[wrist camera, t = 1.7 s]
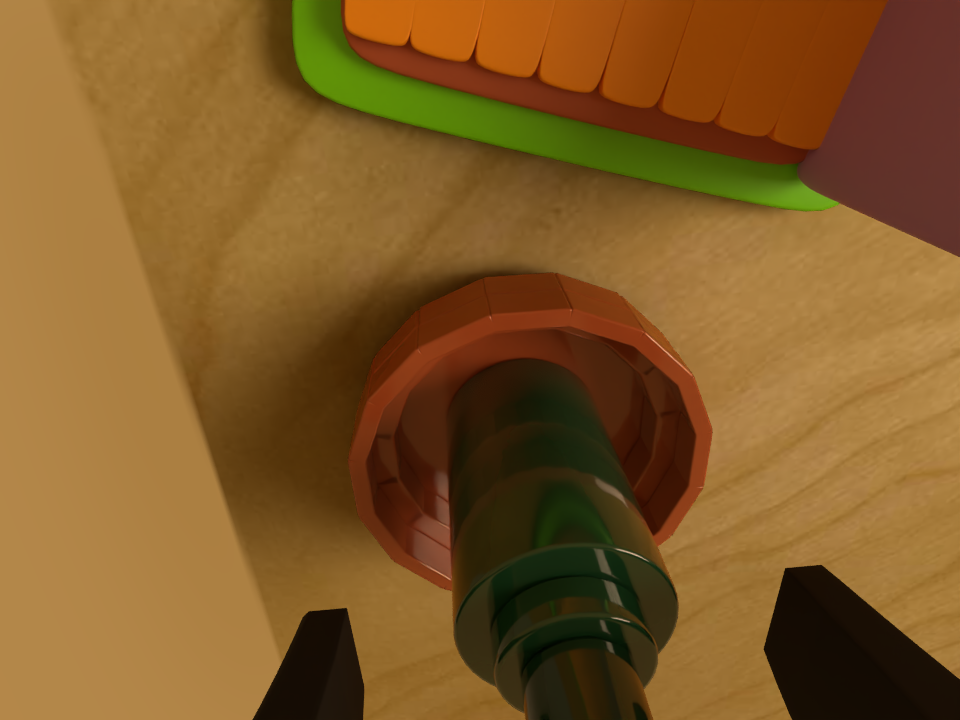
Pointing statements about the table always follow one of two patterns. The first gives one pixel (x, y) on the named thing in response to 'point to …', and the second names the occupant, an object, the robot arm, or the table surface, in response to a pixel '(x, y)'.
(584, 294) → the dish
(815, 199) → the miniature room corner
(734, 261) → the table surface
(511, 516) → the bottle
